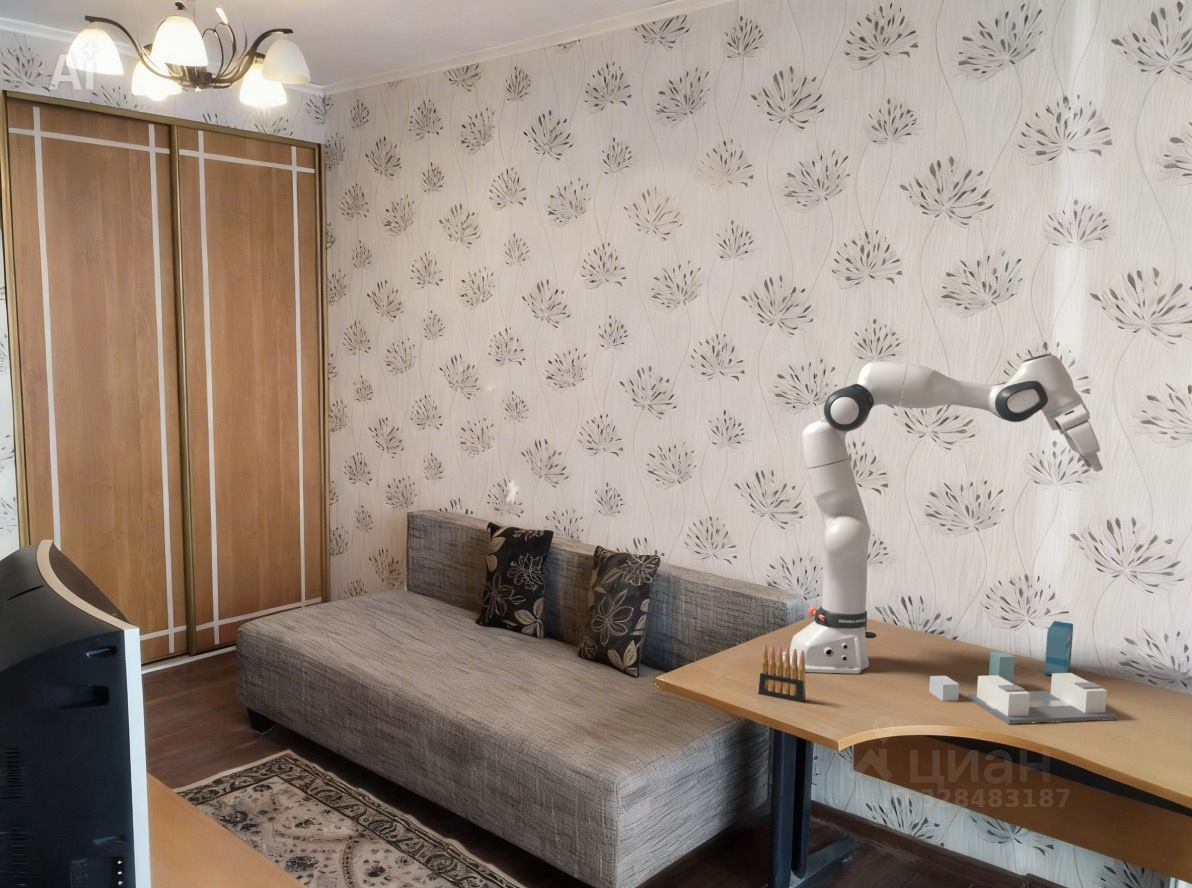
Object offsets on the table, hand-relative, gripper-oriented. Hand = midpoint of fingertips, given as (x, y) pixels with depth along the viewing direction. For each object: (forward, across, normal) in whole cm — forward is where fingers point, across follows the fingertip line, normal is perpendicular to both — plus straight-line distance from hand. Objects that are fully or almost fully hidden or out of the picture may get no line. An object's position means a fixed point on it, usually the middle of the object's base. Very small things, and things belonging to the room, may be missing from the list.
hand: (1095, 468), depth 219 cm
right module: (+47, +12, -28) cm, 56 cm away
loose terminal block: (+33, +16, -54) cm, 65 cm away
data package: (+47, -15, -29) cm, 57 cm away
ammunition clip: (+16, +32, -85) cm, 92 cm away
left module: (+39, +21, -43) cm, 61 cm away
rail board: (+43, +16, -35) cm, 58 cm away
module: (+39, +3, -42) cm, 57 cm away
